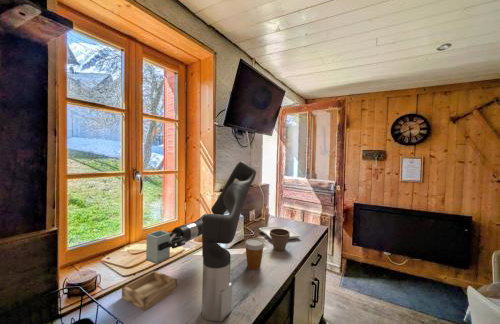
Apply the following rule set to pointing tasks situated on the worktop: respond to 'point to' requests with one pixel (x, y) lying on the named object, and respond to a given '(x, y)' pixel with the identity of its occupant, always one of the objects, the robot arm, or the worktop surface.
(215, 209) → the robot arm
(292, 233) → the salad plate
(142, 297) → the pine crate
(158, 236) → the square green vase
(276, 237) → the flower pot
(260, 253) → the disposable coffee cup
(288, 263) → the worktop surface
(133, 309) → the worktop surface
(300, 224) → the worktop surface
